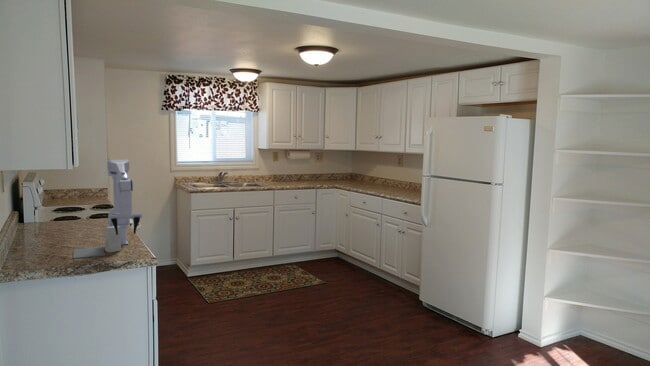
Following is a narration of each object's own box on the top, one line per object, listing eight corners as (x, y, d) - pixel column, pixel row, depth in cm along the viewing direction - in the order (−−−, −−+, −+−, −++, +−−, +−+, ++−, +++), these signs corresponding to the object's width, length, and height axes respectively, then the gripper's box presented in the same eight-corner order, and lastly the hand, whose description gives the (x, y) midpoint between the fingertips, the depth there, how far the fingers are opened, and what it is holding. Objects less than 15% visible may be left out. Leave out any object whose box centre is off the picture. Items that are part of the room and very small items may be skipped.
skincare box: (117, 249, 230) (116, 225, 228) (121, 250, 227) (120, 226, 226) (104, 251, 225) (104, 227, 224) (108, 252, 222) (108, 228, 221)
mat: (73, 250, 226) (73, 249, 226) (103, 247, 232) (103, 246, 232) (73, 258, 210) (73, 257, 210) (104, 256, 216) (104, 255, 216)
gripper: (108, 207, 210) (109, 236, 212) (142, 205, 217) (143, 234, 218) (107, 205, 217) (108, 233, 218) (141, 203, 223) (141, 231, 225)
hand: (125, 233), depth 219 cm, fingers open, 7 cm apart
